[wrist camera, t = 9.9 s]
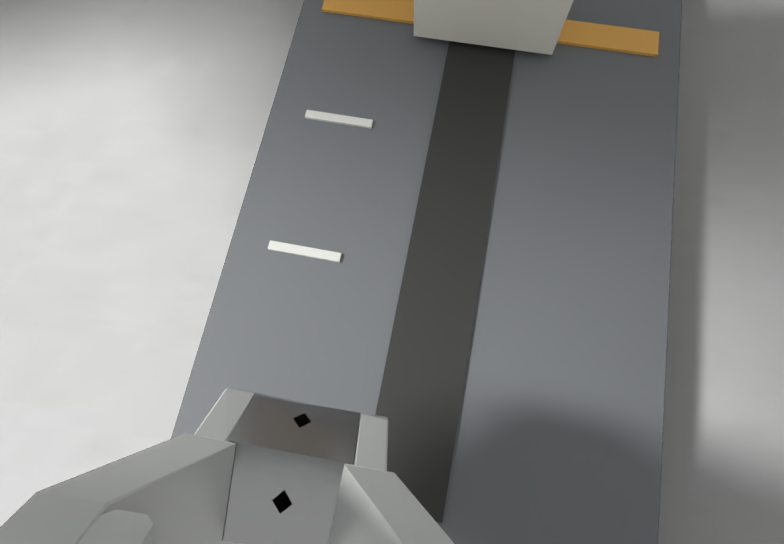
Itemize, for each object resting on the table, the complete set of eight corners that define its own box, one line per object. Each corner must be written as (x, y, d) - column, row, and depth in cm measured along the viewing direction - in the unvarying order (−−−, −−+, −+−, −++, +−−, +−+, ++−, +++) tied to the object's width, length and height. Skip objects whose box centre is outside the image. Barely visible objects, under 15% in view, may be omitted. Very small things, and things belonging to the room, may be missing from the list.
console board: (618, 664, 14) (652, 705, 12) (164, 554, 16) (127, 575, 13) (664, -101, 22) (690, -153, 20) (363, -134, 24) (359, -186, 22)
